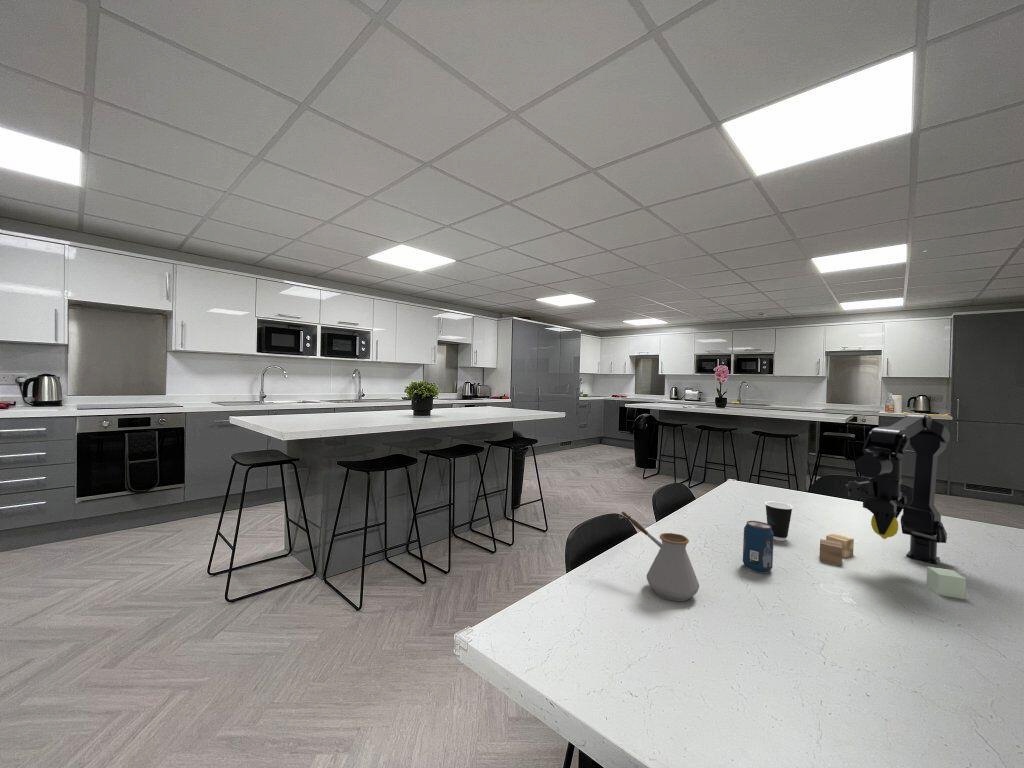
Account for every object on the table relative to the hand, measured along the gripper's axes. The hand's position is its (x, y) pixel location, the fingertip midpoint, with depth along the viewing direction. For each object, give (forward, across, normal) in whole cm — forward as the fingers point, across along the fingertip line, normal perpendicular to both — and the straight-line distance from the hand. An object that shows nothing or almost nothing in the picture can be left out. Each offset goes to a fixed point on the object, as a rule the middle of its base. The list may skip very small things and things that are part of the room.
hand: (884, 532), depth 114 cm
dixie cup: (+11, -4, -27) cm, 29 cm away
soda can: (+11, +28, -21) cm, 37 cm away
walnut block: (+11, +3, -11) cm, 16 cm away
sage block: (+11, +2, +12) cm, 16 cm away
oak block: (+11, -6, -11) cm, 17 cm away
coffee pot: (+11, +60, -32) cm, 69 cm away
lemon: (+2, 0, 0) cm, 2 cm away
